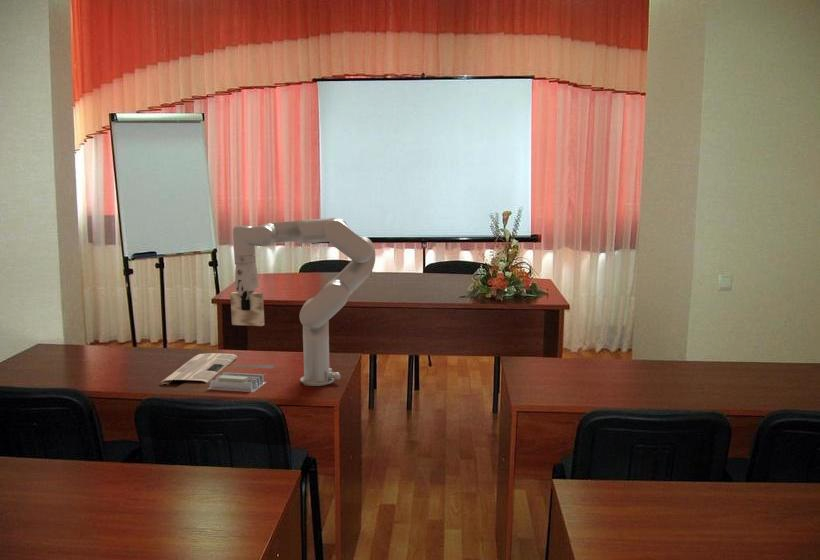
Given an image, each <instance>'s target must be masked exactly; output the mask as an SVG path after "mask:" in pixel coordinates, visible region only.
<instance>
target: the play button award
mask: <svg viewBox="0 0 820 560" xmlns="http://www.w3.org/2000/svg"><path fill="white" fill-rule="evenodd" d="M233 367H239V368H241V367H242V368H254V369H255V368H256V369H257V368H258V369H273V368H274V369H275V364H236V363H235V364H234V365H233ZM274 369H273V370H274ZM266 374H267V372H265V373H261V375H263V377H264V376H265V375H266Z"/></svg>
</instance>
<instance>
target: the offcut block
mask: <svg viewBox="0 0 820 560" xmlns="http://www.w3.org/2000/svg"><path fill="white" fill-rule="evenodd" d="M221 375H222V374H221ZM219 381H233V382H248V377H243V376H226V375H222V376H220V377H219Z"/></svg>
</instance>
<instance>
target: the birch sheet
mask: <svg viewBox="0 0 820 560" xmlns="http://www.w3.org/2000/svg"><path fill="white" fill-rule="evenodd" d="M245 294H246V293H245ZM248 294H249V299H250V310H242V309H241V299H240V296H239V295H238V291H232V292H230V293H229V295H230V312H231V313H230V314H231V325H232V326H251V327H254V326H255V327H263V326H265V325H266V324H265V306H264V292H253V293H252V292H248Z"/></svg>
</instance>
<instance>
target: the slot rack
mask: <svg viewBox="0 0 820 560" xmlns="http://www.w3.org/2000/svg"><path fill="white" fill-rule="evenodd" d="M222 375H226V376H243V377H248V382H233V381H219V377H220V376H222ZM214 377H215V378H214V379H211V380H210V381H209V387H208V388H207V390H215V391H216V390H217V391H230V392H244V393H245V392H246V393H254V392H257V390H259V389H260V388H261V387H262V386H264V385H265V384H266V383H268V381H264V376H263V375H262V373H261V374H258V373H242V372H241V373H240V372H222V373H221V374H217V376H214Z"/></svg>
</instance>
